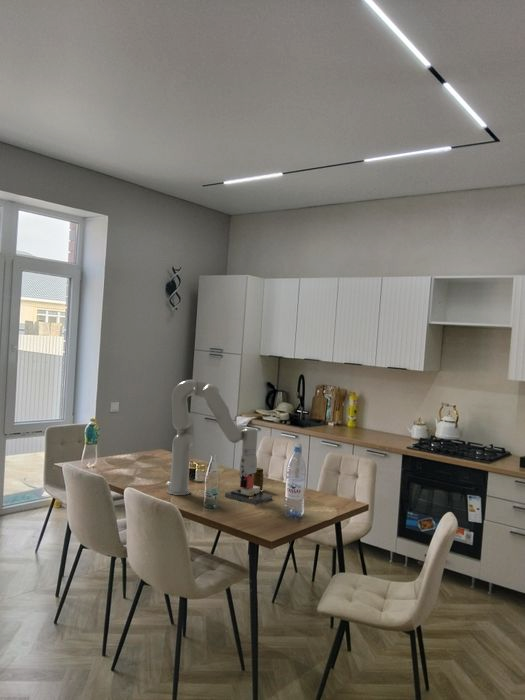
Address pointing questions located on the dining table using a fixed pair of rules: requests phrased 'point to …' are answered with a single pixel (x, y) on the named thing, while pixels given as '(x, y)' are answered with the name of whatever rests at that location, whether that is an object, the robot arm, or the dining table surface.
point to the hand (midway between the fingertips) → (246, 485)
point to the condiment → (258, 478)
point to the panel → (248, 497)
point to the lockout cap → (248, 482)
